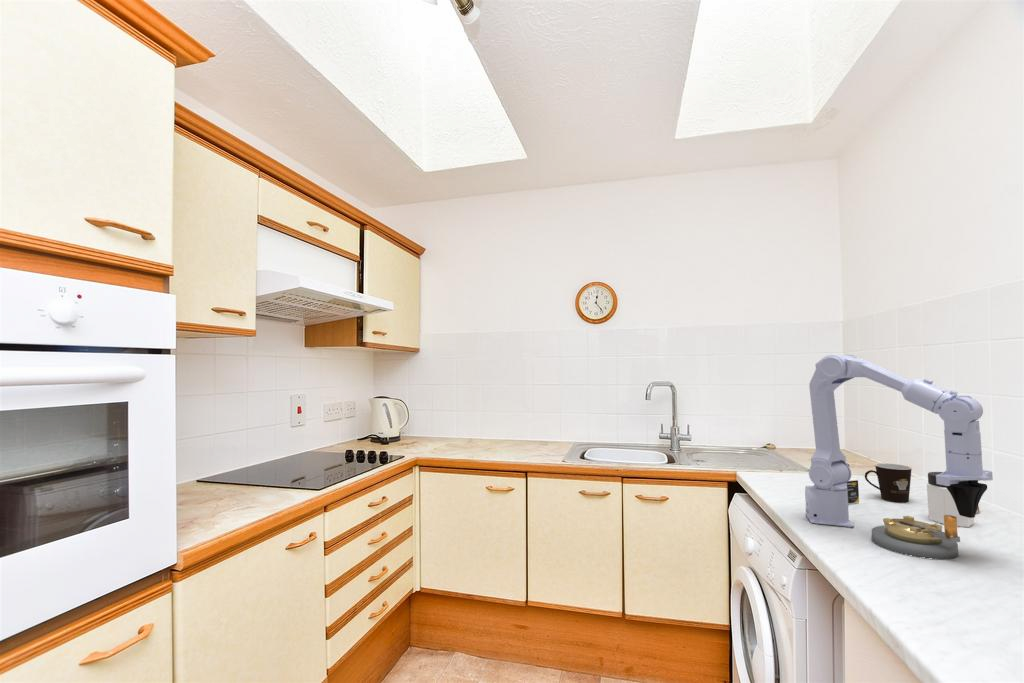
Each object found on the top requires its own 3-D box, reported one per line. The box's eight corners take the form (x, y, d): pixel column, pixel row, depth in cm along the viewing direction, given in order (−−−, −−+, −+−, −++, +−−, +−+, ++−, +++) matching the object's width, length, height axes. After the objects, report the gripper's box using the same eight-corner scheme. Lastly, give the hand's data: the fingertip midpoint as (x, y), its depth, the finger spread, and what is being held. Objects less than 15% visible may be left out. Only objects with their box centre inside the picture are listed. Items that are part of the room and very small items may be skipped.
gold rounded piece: (873, 531, 111) (872, 501, 112) (907, 527, 113) (905, 498, 114) (938, 553, 98) (936, 520, 98) (975, 549, 100) (973, 515, 100)
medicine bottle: (841, 505, 138) (839, 464, 138) (819, 499, 145) (817, 459, 145) (859, 503, 140) (857, 462, 140) (837, 496, 147) (835, 457, 147)
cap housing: (883, 553, 103) (882, 544, 103) (863, 530, 117) (863, 522, 117) (972, 563, 97) (971, 553, 98) (940, 538, 111) (940, 530, 111)
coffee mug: (910, 498, 144) (908, 465, 144) (916, 505, 136) (914, 470, 137) (863, 493, 150) (861, 461, 150) (866, 500, 142) (864, 466, 143)
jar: (967, 529, 117) (964, 480, 117) (925, 521, 123) (922, 474, 124) (978, 522, 122) (974, 475, 122) (936, 514, 128) (934, 470, 129)
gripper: (962, 458, 96) (966, 526, 96) (1008, 453, 100) (1013, 518, 100) (923, 452, 103) (927, 515, 102) (968, 447, 107) (972, 508, 106)
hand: (967, 516), depth 101 cm, fingers closed
